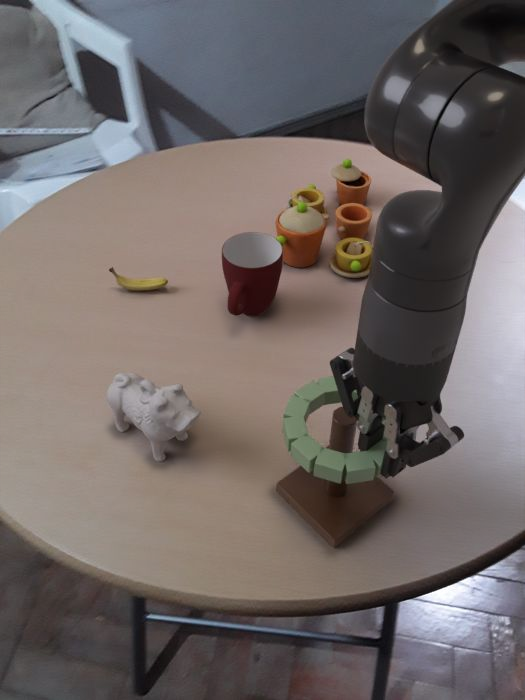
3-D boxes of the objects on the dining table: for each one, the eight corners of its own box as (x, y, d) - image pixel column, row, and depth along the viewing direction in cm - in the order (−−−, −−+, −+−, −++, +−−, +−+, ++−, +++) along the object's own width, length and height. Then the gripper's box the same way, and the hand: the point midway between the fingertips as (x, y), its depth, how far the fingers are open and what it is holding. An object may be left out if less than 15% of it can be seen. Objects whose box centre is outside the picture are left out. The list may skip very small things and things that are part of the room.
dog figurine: (183, 482, 75) (176, 421, 68) (105, 424, 81) (90, 362, 73) (215, 451, 78) (211, 390, 71) (138, 398, 84) (126, 336, 76)
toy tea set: (376, 286, 99) (385, 231, 92) (271, 279, 100) (272, 224, 94) (375, 191, 118) (382, 140, 111) (286, 186, 119) (288, 134, 112)
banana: (111, 293, 98) (107, 271, 95) (113, 286, 99) (109, 264, 96) (168, 294, 98) (165, 272, 95) (169, 286, 99) (167, 264, 96)
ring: (343, 372, 72) (344, 359, 71) (428, 439, 66) (431, 425, 64) (259, 427, 67) (259, 414, 65) (343, 505, 60) (345, 493, 59)
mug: (267, 343, 91) (267, 285, 84) (210, 331, 92) (206, 273, 85) (287, 294, 98) (289, 237, 91) (234, 284, 100) (232, 227, 93)
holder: (334, 448, 78) (345, 367, 69) (393, 499, 74) (413, 420, 64) (275, 491, 74) (278, 411, 65) (333, 548, 69) (345, 471, 60)
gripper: (515, 353, 49) (464, 488, 62) (375, 264, 57) (354, 400, 69) (449, 404, 46) (409, 536, 58) (309, 301, 53) (300, 438, 66)
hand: (379, 462), depth 64 cm, fingers closed on ring, 2 cm apart
